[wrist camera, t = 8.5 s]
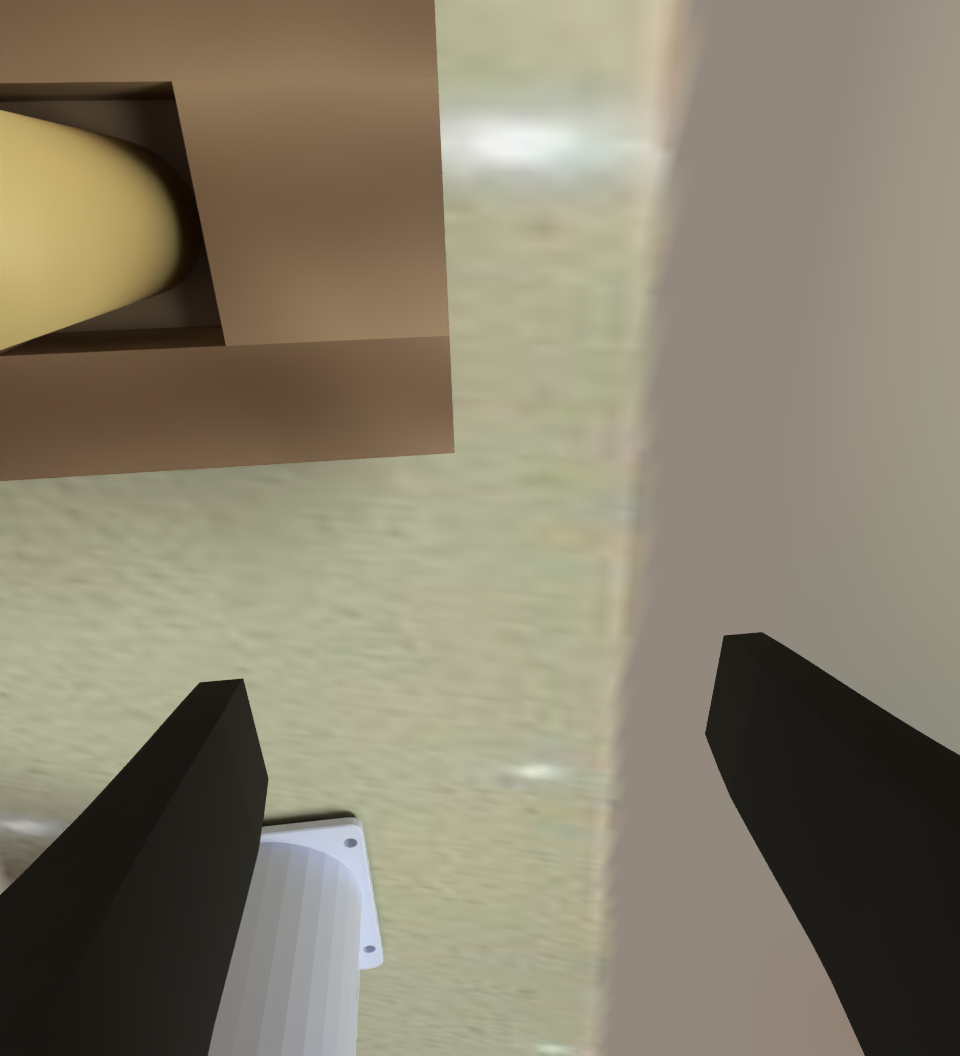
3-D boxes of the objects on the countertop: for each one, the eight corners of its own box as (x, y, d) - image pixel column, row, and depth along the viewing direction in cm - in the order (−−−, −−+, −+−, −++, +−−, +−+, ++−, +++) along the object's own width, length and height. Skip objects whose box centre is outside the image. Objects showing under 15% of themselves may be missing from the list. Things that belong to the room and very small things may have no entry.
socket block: (446, 414, 18) (454, 452, 15) (-95, 444, 17) (-189, 492, 14) (423, -59, 13) (429, -122, 11) (-333, -65, 12) (-541, -137, 9)
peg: (215, 291, 15) (83, 349, 9) (75, 300, 15) (-160, 367, 9) (180, 133, 14) (-6, 73, 8) (24, 141, 14) (-300, 85, 7)
